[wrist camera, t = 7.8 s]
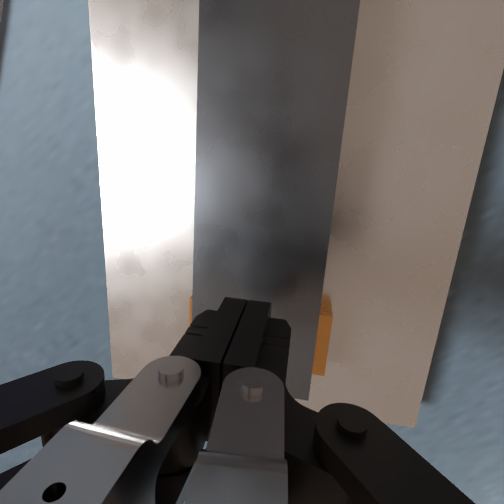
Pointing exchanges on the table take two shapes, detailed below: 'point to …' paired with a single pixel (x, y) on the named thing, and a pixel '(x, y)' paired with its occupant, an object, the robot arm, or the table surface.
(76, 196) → the table surface
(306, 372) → the flat pivoting pedal
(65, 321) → the table surface
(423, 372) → the mounting plate
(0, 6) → the hard drive
